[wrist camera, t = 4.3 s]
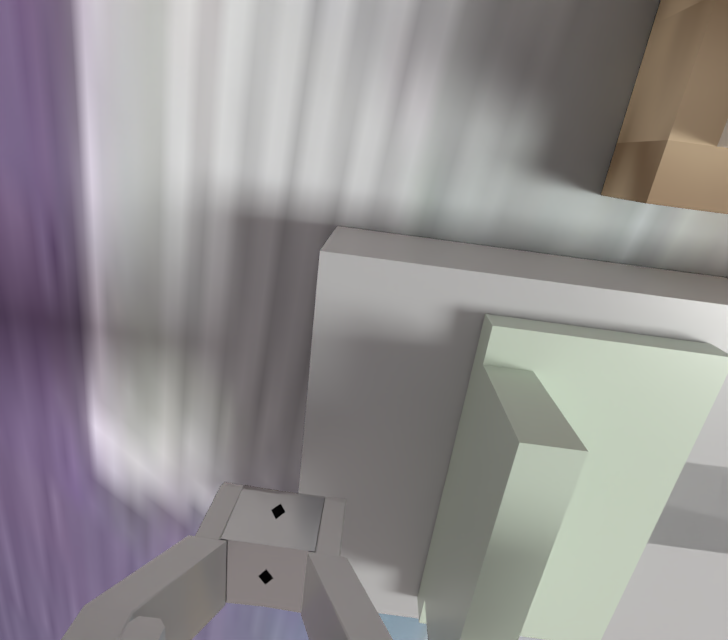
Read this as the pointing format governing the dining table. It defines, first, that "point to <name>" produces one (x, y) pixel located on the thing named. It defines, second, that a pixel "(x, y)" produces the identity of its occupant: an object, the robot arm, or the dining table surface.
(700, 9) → the holder
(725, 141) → the plug
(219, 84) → the dining table surface
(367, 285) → the socket
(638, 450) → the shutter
